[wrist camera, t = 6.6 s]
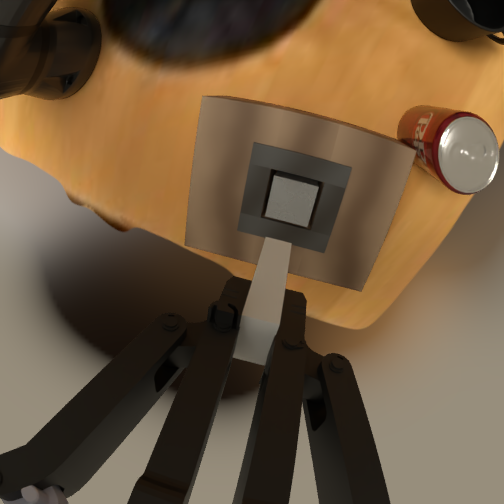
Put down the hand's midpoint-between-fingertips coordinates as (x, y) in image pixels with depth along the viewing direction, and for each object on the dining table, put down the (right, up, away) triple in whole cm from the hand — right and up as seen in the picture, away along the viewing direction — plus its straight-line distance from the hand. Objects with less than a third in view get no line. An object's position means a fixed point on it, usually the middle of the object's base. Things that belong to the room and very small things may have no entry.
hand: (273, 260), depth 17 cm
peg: (+4, +9, +16) cm, 19 cm away
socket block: (+4, +9, +17) cm, 20 cm away
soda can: (+19, +14, +11) cm, 26 cm away
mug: (+22, +29, +2) cm, 37 cm away
